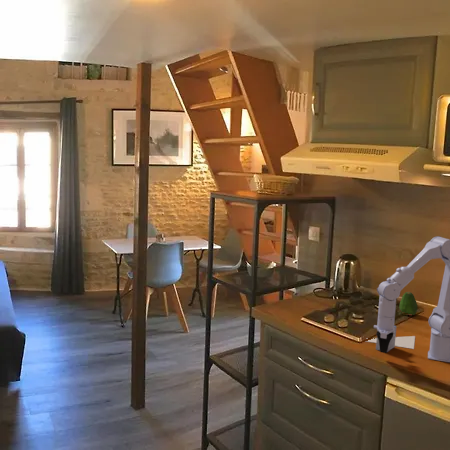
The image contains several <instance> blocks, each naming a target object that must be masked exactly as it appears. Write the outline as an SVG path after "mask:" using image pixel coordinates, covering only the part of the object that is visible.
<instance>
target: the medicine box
mask: <svg viewBox="0 0 450 450" xmlns="http://www.w3.org/2000/svg"><path fill="white" fill-rule="evenodd" d="M377 331H378V330H377V329H376V332H377ZM396 335H397V326H396V325H394V331H393V337H392V339H391V340H390V343H389V346H388V350H387V353H388V352H390V351H391V350H392V349H395V347H396V346H395V338H396V337H397V336H396ZM376 338H377V341H376V343H375V350H377V351H379V352H380V346H379V340H378V337H377V336H376Z"/></svg>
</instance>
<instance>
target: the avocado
mask: <svg viewBox="0 0 450 450" xmlns="http://www.w3.org/2000/svg"><path fill="white" fill-rule="evenodd" d="M401 296H402V297H401V299H400V302H399V311H400V310H401V311H402V312H405V313H408V314H412V315H414V316H415V315H416V314H417V312H418V303H417V299H416V298H415V296H414V294H413V293H412V292H411V291H406V292H403V295H401Z"/></svg>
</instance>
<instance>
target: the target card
mask: <svg viewBox="0 0 450 450" xmlns="http://www.w3.org/2000/svg"><path fill="white" fill-rule="evenodd" d="M372 338H373V339H371V340H368V341H366V342H368V343H374V344H376V341H377V337H372ZM374 338H375V339H374ZM415 341H416V336H415V335H412V336H410V335H409V336H396V338H395V347H399V348H406V349H412V350H414V349H415Z"/></svg>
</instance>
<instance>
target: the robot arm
mask: <svg viewBox="0 0 450 450" xmlns="http://www.w3.org/2000/svg"><path fill="white" fill-rule="evenodd" d="M435 259H441V260H442V261H443V262H444V264H445V266H444V270H443V271H444V272H443V276H442V281H441V286H440V292H439V297H438V302H437V305H436V306H435V307H434V308H433V310H432V313H431V314H430V316H429V318H428V325H429V327H430V339H429V340H430V341H429V350H428V351H427V359H428V360H434V361H441V362H445V363H450V238H445V237H443V236H434V237H432V239H430V241H427V242H426V244H425V246H424V247H423V249H422V250H421V251H420V252H419V253H418V254H417V255H416V256H415V257H414V258H413V259H412V260H411V261H410V262H409V264H407V266H400V267H398V268H396V270H395V272H394V273H393V274H392V275H391V276H390V277H387V278H386V280H385V281H382V282H381V283H380V284H379V285H378V287H377V288H376V292H377V294H378V296H379V299H378V301H379V302H378V312H377V324H374V325H373V329H376V338H377V337H378V340H379V346H380V351H379V352H380V353H381V354H382V353H383V354H387V353H388V352H387V350H388V346H389V343H390V340H391V339H392V337H393V331H394V326H395V318H396V317H395V316H396V307H397V306H396V305H397V299H398V298H399V297H400V294H401V291H402V290H403V289H404V288H405V287H407V286H408V284H409V283H411V281H413V280H414V279H415V273H417V271H419V270H420V269H421V268H422V267H423V266H425V265H426V264H427V263H428V262H429V261H431V260H435ZM377 330H378V331H377Z"/></svg>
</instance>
